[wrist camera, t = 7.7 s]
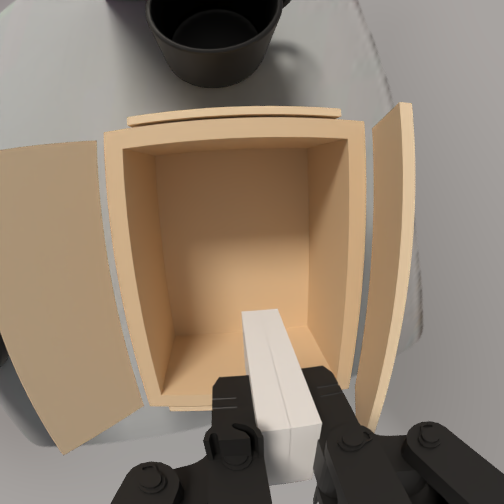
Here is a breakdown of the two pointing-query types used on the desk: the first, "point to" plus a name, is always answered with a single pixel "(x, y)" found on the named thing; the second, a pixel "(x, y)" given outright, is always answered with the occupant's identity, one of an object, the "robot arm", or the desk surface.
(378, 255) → the flap
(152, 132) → the carton
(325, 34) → the desk surface
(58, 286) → the flap
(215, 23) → the mug
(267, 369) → the robot arm
